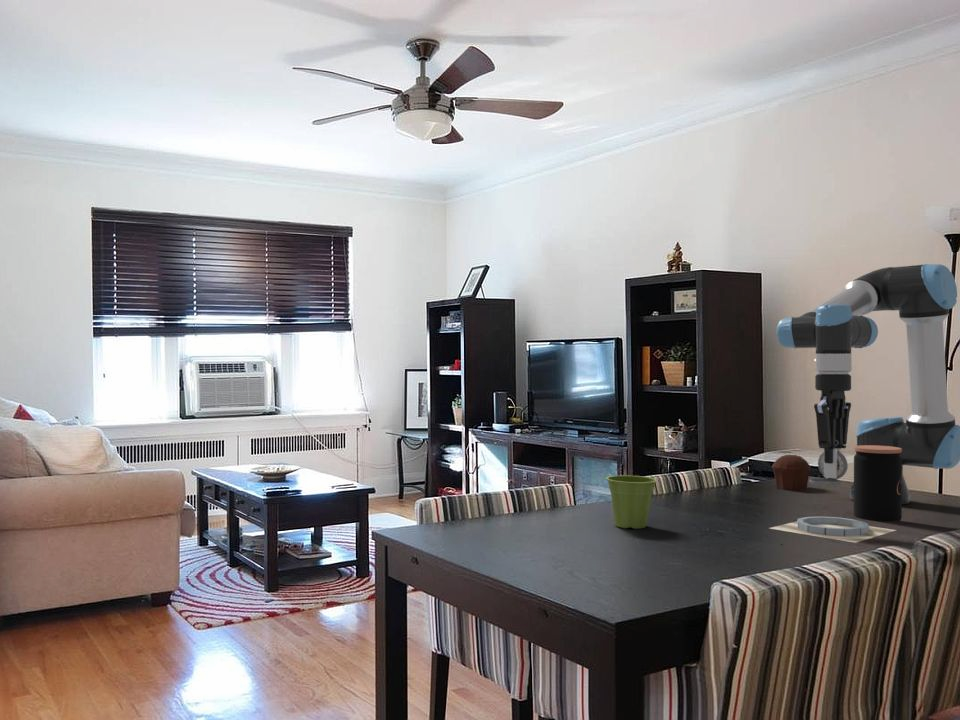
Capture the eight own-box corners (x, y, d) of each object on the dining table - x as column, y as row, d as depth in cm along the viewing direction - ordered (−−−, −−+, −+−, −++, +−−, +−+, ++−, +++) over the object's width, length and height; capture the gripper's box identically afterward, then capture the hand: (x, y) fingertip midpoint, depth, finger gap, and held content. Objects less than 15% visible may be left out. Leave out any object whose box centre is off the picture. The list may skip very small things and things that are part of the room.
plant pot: (645, 533, 194) (646, 483, 194) (597, 527, 201) (597, 479, 201) (664, 525, 204) (664, 477, 204) (617, 519, 211) (617, 473, 211)
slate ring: (817, 520, 205) (817, 514, 205) (879, 529, 194) (879, 523, 194) (785, 528, 196) (785, 521, 196) (849, 538, 185) (849, 531, 185)
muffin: (805, 492, 255) (805, 458, 255) (767, 489, 262) (767, 456, 262) (814, 487, 265) (814, 454, 265) (777, 484, 271) (777, 452, 271)
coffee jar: (907, 526, 204) (907, 450, 204) (859, 524, 206) (859, 449, 206) (894, 518, 214) (895, 445, 214) (849, 516, 217) (849, 444, 216)
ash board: (812, 521, 209) (812, 517, 209) (896, 534, 194) (896, 530, 194) (768, 532, 196) (768, 528, 196) (855, 547, 181) (855, 542, 181)
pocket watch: (811, 486, 190) (811, 440, 190) (806, 481, 198) (807, 437, 198) (850, 487, 188) (851, 441, 188) (845, 482, 196) (845, 438, 196)
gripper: (832, 372, 202) (831, 473, 202) (801, 373, 193) (801, 478, 193) (864, 373, 197) (863, 476, 197) (834, 373, 187) (833, 482, 187)
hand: (832, 477), depth 195 cm, fingers closed on pocket watch
